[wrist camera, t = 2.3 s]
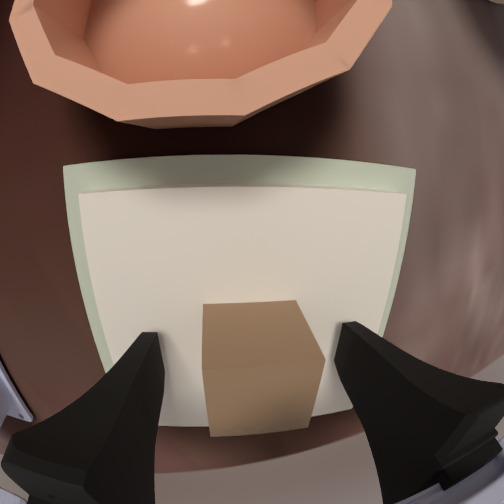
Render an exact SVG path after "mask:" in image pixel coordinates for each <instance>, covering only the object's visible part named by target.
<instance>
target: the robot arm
mask: <svg viewBox="0 0 504 504" xmlns="http://www.w3.org/2000/svg"><path fill="white" fill-rule="evenodd" d="M334 363H335V366H336V369H337V372H338V375H339V378H340V381H341V383H342V385H343V387H344V389H345V391H346V393H347V395H348V397H349V399H350V401H351V403H352V405H353V407H354V409H355V411H356V413H357V415H358V417H359V419H360V421H361V423H362V425H363V428H364V430H365V433H366V436H367V439H368V442H369V445H370V448H371V451H372V455H373V458H374V461H375V465H376V469H377V473H378V477H379V482H380V487H381V493H382V499H383V504H503V503H504V437H502V438H501V439H500V440H499V441H497V440H496V438H495V437H496V436H497V435H498V432H497V431H496V429H495V427H496V425H497V424H498V423H499V422H500V420H501V419H502V418H503V416H504V384H502V383H494V382H487V381H480V380H475V379H471V378H467V377H463V376H459V375H456V374H453V373H450V372H447V371H444V370H442V369H439V368H437V367H434V366H432V365H430V364H428V363H425V362H423V361H421V360H419V359H417V358H415V357H414V356H412V355H410V354H408V353H406V352H405V351H403V350H401V349H400V348H398V347H396V346H395V345H393V344H391V343H390V342H388V341H387V340H385V339H384V338H382V337H381V336H379V335H378V334H376V333H374V332H373V331H371V330H370V329H368V328H367V327H365V326H364V325H362V324H360V323H358V322H357V321H352V322H344V323H342V327H341V332H340V336H339V341H338V345H337V349H336V353H335V358H334ZM164 383H165V368H164V363H163V358H162V353H161V348H160V343H159V338H158V332H142V333H141V334H140V335H139V336H138V337H137V338H136V339H135V341H134V342H133V343H132V344H131V346H130V347H129V348H128V349H127V351H126V352H125V353H124V354H123V355H122V356H121V358H120V359H119V360H118V361H117V362H116V363H115V364H114V366H113V367H112V368H111V369H110V370H109V371H108V372H107V373H106V374H105V375H104V376H103V377H102V378H101V379H100V380H99V381H98V382H97V383H96V384H95V385H94V386H93V387H92V388H91V389H89V390H88V391H87V392H86V393H85V394H84V395H82V396H81V397H80V398H78V399H77V400H76V401H74V402H73V403H71V404H70V405H69V406H67V407H66V408H64V409H63V410H61V411H60V412H58V413H56V414H55V415H53V416H51V417H50V418H48V419H46V420H44V421H42V422H40V423H38V424H36V425H34V426H32V427H29V428H27V429H25V430H22V431H20V432H17V433H14V434H13V435H12V437H11V439H10V441H9V444H8V446H7V449H6V451H5V454H4V456H3V459H2V461H1V467H2V469H3V470H4V472H5V473H6V474H7V475H8V476H9V477H10V478H11V479H12V480H13V481H14V482H15V483H16V484H18V485H19V486H20V487H21V488H22V489H23V490H25V491H26V492H27V493H28V494H29V498H28V501H27V500H25V499H24V498H22V497H20V496H18V495H16V494H14V493H11V492H9V491H7V490H5V489H3V488H1V487H0V504H155V492H154V457H155V442H156V435H157V429H158V424H159V418H160V412H161V407H162V401H163V395H164ZM6 415H9V416H12V417H15V418H18V419H21V420H25V421H28V422H32V420H33V416H32V414H31V413H30V411H29V410H28V408H27V407H26V405H25V403H24V402H23V400H22V399H21V397H20V395H19V394H18V392H17V390H16V389H15V387H14V385H13V383H12V382H11V380H10V378H9V376H8V374H7V373H6V371H5V369H4V367H3V365H2V363H1V361H0V428H1V426H2V424H3V422H4V420H5V417H6Z"/></svg>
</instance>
